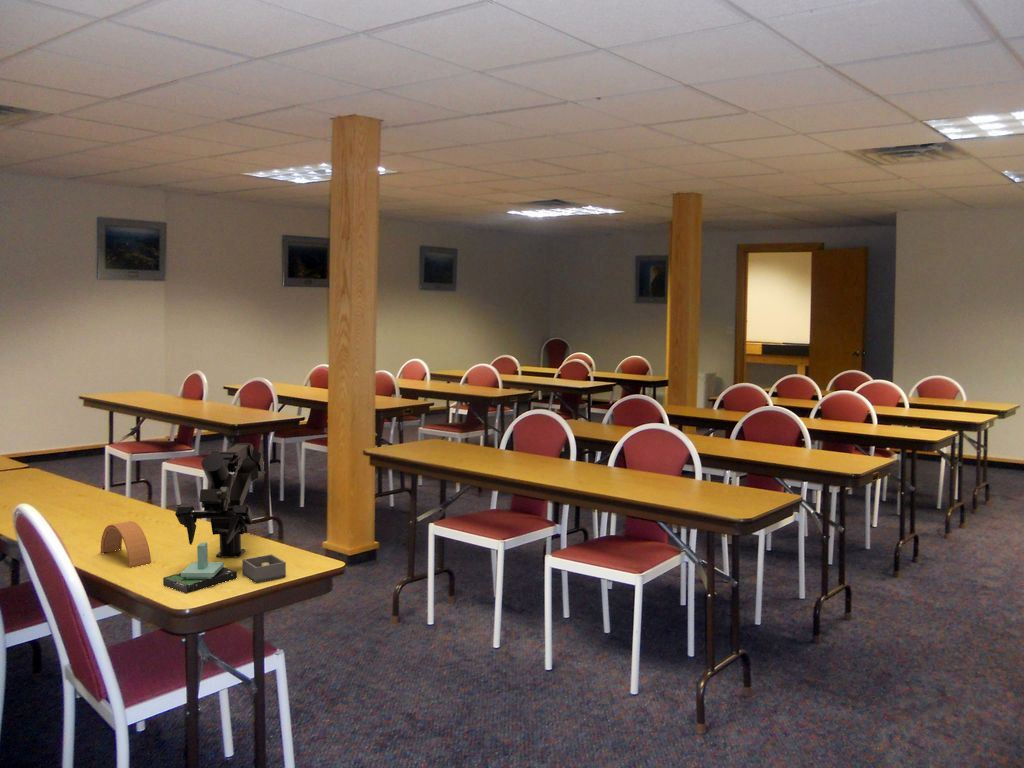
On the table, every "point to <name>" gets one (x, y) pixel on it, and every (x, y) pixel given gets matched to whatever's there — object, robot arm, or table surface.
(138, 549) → the arch
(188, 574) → the lid
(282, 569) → the tub
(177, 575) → the disk drive
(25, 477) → the table surface
